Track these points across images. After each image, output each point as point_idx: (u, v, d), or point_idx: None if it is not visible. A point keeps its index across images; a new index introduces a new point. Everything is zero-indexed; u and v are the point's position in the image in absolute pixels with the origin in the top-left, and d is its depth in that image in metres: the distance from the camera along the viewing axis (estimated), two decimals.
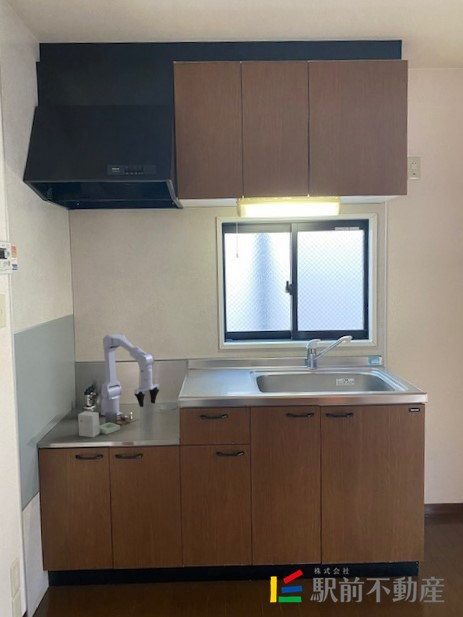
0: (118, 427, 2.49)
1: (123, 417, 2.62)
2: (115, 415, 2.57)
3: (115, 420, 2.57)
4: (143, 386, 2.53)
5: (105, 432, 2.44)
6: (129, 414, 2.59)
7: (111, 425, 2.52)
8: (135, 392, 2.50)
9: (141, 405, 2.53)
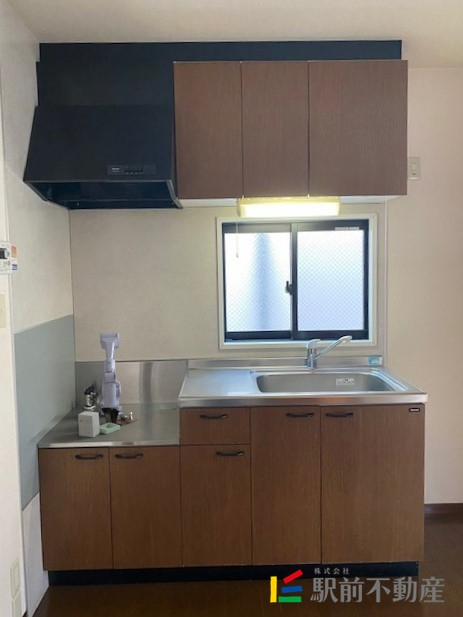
0: (118, 427, 2.49)
1: (123, 417, 2.62)
2: None
3: None
4: None
5: (105, 432, 2.44)
6: (129, 414, 2.59)
7: (111, 425, 2.52)
8: None
9: None
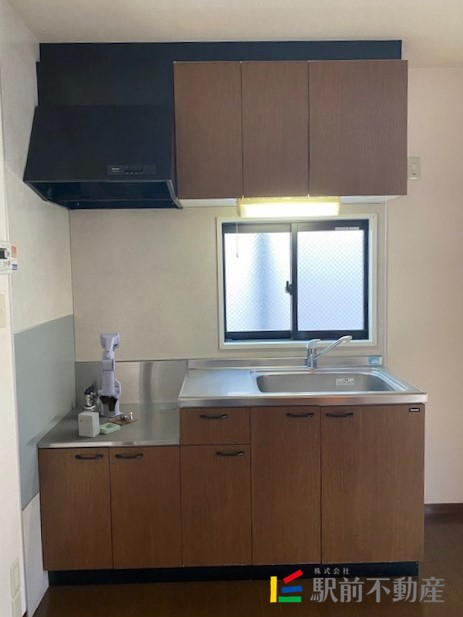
0: (118, 427, 2.49)
1: (123, 417, 2.62)
2: None
3: (113, 411, 2.52)
4: None
5: (105, 432, 2.44)
6: (129, 414, 2.59)
7: (111, 425, 2.52)
8: None
9: None
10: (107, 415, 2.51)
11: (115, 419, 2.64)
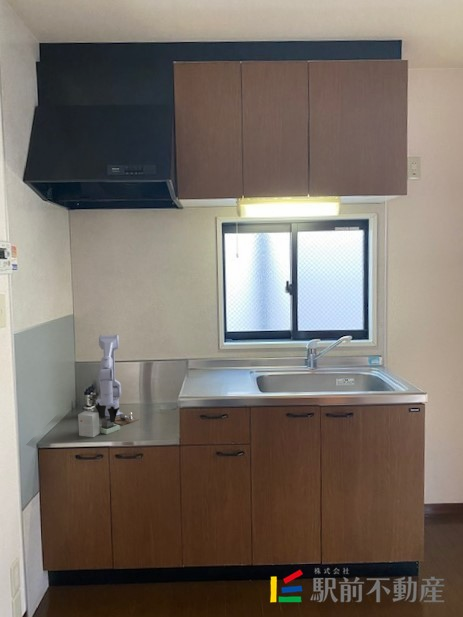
0: (118, 427, 2.49)
1: (123, 417, 2.62)
2: None
3: (112, 425, 2.48)
4: None
5: (105, 432, 2.44)
6: (129, 414, 2.59)
7: None
8: None
9: None
10: None
11: (115, 419, 2.64)
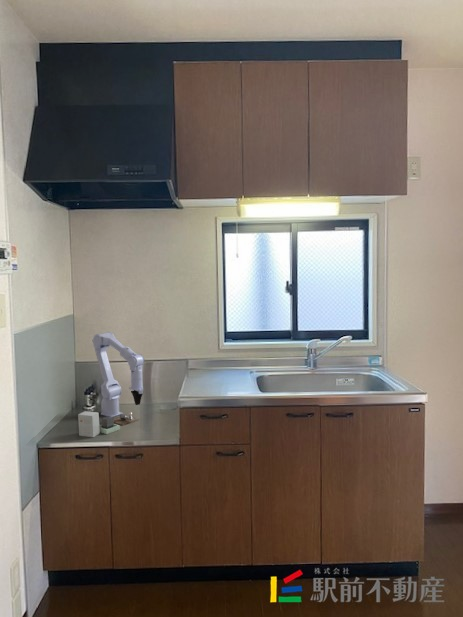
0: (118, 427, 2.49)
1: (123, 417, 2.62)
2: (112, 420, 2.48)
3: (112, 425, 2.48)
4: None
5: (105, 432, 2.44)
6: (129, 414, 2.59)
7: None
8: None
9: None
10: None
11: (115, 419, 2.64)
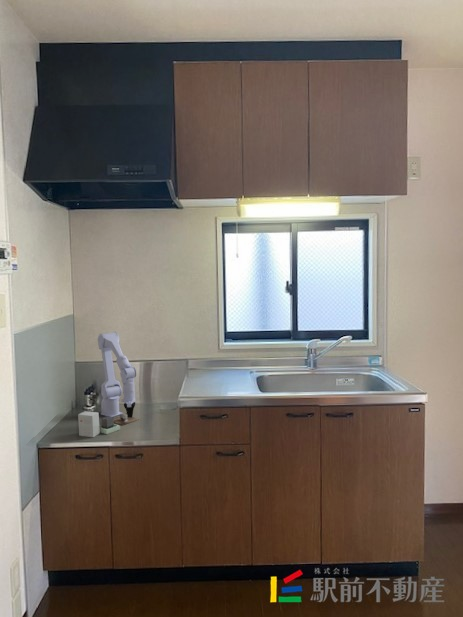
0: (118, 427, 2.49)
1: (121, 417, 2.62)
2: (112, 420, 2.48)
3: (112, 425, 2.48)
4: None
5: (105, 432, 2.44)
6: (124, 415, 2.58)
7: None
8: None
9: None
10: None
11: (115, 419, 2.64)
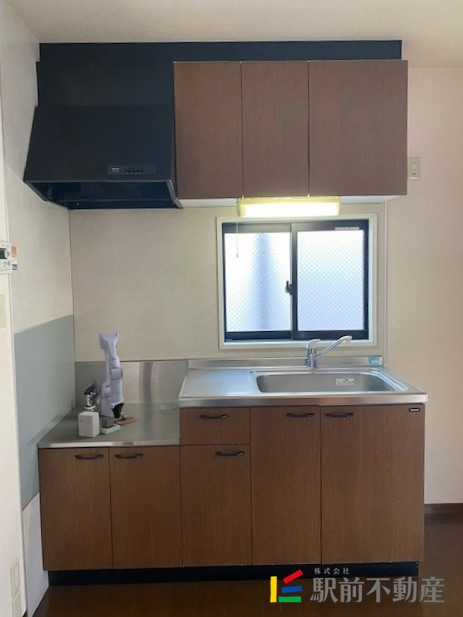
0: (118, 427, 2.49)
1: None
2: (112, 420, 2.48)
3: (112, 425, 2.48)
4: None
5: (105, 432, 2.44)
6: (112, 414, 2.60)
7: None
8: None
9: None
10: None
11: None
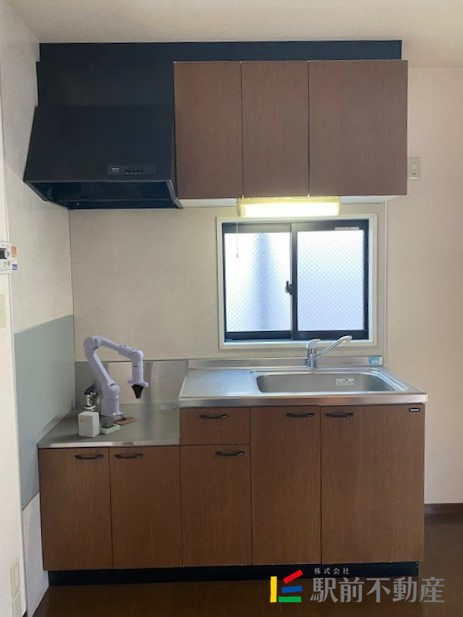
0: (118, 427, 2.49)
1: None
2: (112, 420, 2.48)
3: (112, 425, 2.48)
4: None
5: (105, 432, 2.44)
6: (112, 414, 2.60)
7: None
8: None
9: None
10: None
11: None
